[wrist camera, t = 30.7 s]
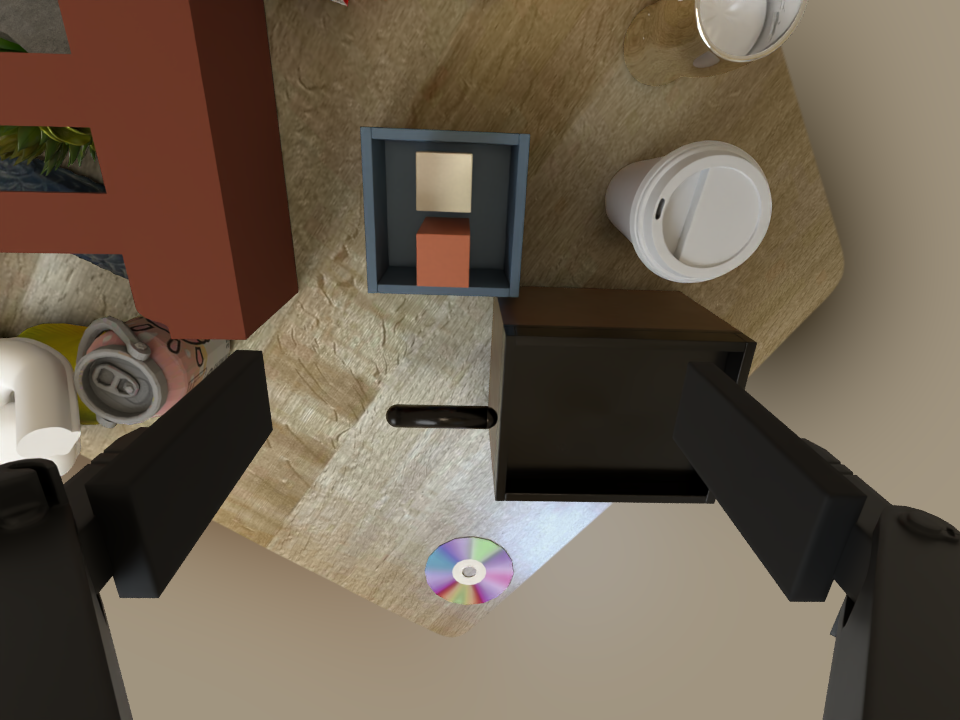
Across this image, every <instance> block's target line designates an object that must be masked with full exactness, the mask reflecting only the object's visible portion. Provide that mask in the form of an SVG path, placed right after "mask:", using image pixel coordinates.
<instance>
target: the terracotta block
mask: <svg viewBox="0 0 960 720" xmlns="http://www.w3.org/2000/svg"><path fill="white" fill-rule="evenodd" d="M416 253H417V286H430V287H462V288H468V287H469V263H470V224H469V218H448V217H426V218H425V219H424V221H423V223H422V225H421V227H420V228H419V230H418V232H417V234H416Z"/></svg>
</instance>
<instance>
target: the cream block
mask: <svg viewBox="0 0 960 720" xmlns="http://www.w3.org/2000/svg"><path fill="white" fill-rule="evenodd" d="M472 167H473V154H472V153H467V152H443V151H417V152H416V210H417V211H437V212H464V213H470V212H471V198H472Z"/></svg>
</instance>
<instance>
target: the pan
mask: <svg viewBox="0 0 960 720" xmlns="http://www.w3.org/2000/svg"><path fill="white" fill-rule="evenodd" d="M756 345H757V342H755V341H754V340H752V339H751V338H749V337H748V336H746V335H745V334H743V333H742V332H740V331H739V330H737V329H736V328H734V327H733V326H731V325H730V324H728V323H727V322H725V321H724V320H722V319H721V318H719V317H718V316H716V315H715V314H713V313H712V312H710V311H709V310H707V309H706V308H704V307H703V306H701V305H700V304H698V303H697V302H695V301H694V300H692V299H691V298H689V297H688V296H686V295H685V294H683V293H682V292H680V291H660V290H628V289H596V288H564V287H533V286H519V297H494V302H493V322H492V341H491V361H490V380H489V400H488V406H452V405H406V404H396V405H393V406H391V407H390V408H389V409H388V411H387V413H386V419H387V422H388V423H389V424H390V425H391V426H393V427H405V428H456V429H489V436H490V447H491V459H492V470H493V481H494V493H495V501H504V500H505V501H561V502H633V503H635V502H636V503H707V504H708V503H709V504H714V502H715V499H716V498H715V497H714V495H713V494H712V493H711V491H710V490H709V488H708V487H707V486H706V484H705V483H704V481H703V480H702V479H701V477H700V476H699V474H698V473H697V472H696V470H695V469H694V468H693V466H692V465H691V463H690V462H689V461H688V459H687V458H686V456H685V455H684V454H683V452H682V451H681V449H680V448H679V447H678V445H677V444H676V442H675V441H674V440H673V438H672V436H673V431H674V426H675V422H676V417H677V412H678V408H679V403H680V398H681V394H682V389H683V384H684V379H685V375H686V370H687V365H688V362H713V363H714V364H715V365H716V366H717V367H718V368H720V369H721V370H722V371H723V372H724V373H725V374H727V375H728V376H729V377H730V378H731V379H732V380H733V381H735V382H736V383H737V384H738V385H739V386H740V387H742V388H743V389H744V390H745V386H746V382H747V379H748V375H749V371H750V367H751V363H752V360H753V356H754V352H755V348H756Z"/></svg>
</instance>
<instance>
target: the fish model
mask: <svg viewBox="0 0 960 720" xmlns="http://www.w3.org/2000/svg"><path fill="white" fill-rule="evenodd" d="M9 159H10V157H9V158H7V159H5V160H3V161H1V157H0V191H43V192H93V193H106V189H105V186H104V185H101V184H98V183H95V182H93V181H92V180H91V179H89V178H87V177H85V176H80V175H76V174H74V173H73V172H72V171H70V170H68V169H64V168H60V167H59V168H58V169H57V170H56V171H55V168H56V166H55V167H54V168H53V169H52V171H51V172H50V173H49V174H48V175H47V176H46V173H47V171H46V172H44V173H43V174H42V175H40V174H41V172H42V170H43V168H44V164H45V163H44V161H42V160H39V159H33V160H32V161H31V162H30V164H28V165H27V160H28V159H27V160H25V161H23V162H21V163H19V164H17V165H15V166H13V165H14V163H15V162H16V160H17V159H18V157H16V158H13V159H10V160H9ZM70 254H71V253H70ZM73 255H76V256H77V257H79V258H82V259H84V260H86V261H89V262H92V264H95V265H97V266H99V267H100V268H103V269H106V270H109V271H111V272H112V273H113V274H115V275H120V276H122V277H124V278H127V279H128V275H127V271H126V267H125V263H124V259H123V256H122V254H73Z"/></svg>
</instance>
